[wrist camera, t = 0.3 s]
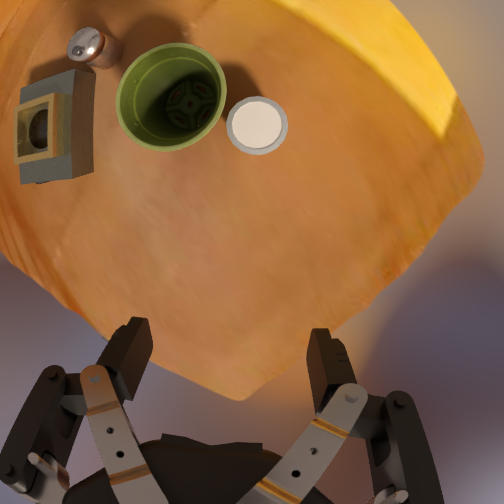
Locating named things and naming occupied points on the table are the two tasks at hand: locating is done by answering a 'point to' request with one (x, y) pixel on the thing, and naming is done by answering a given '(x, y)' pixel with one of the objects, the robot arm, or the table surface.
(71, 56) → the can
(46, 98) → the grey block with socket
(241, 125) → the white cylinder
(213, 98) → the plant pot
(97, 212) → the table surface
